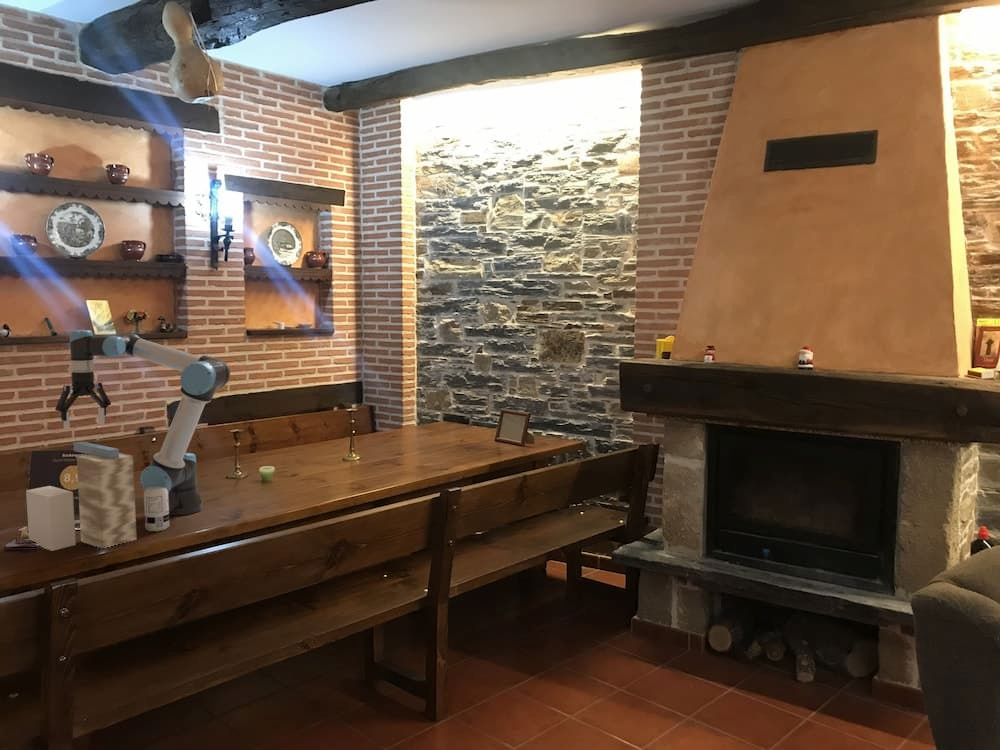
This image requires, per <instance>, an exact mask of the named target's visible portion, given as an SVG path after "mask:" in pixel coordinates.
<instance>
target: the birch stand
mask: <svg viewBox="0 0 1000 750" xmlns="http://www.w3.org/2000/svg"><path fill="white" fill-rule="evenodd" d="M76 467H77V468H76V469H77V471H76V472H77V486H78V487H77V488H78V507H79V527H80V530H79V531H80V542H82V543H84V544H87V545H89V546H90V545H91V546H93V547H96V546H97V547H96V548H99V547H100V548H99V549H102V548H105V549H108V548H107V547H109V548H112V547H111V546H113V547H115V546H114V545H116V546H119V545H118V544H120V545H122V543H124V544H126V542H127V543H130V541H131V542H134V540H135V541H137V539H138V538H137V524H136V523H137V520H136V519H137V516H136V495H135V492H136V491H135V475H134V469H135V468H134V455H133V454H132V455H131V454H126V453H121V452H119V458H114V459H108V458H104V457H99V456H94V455H90V454H84V455H78V456H76Z"/></svg>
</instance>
